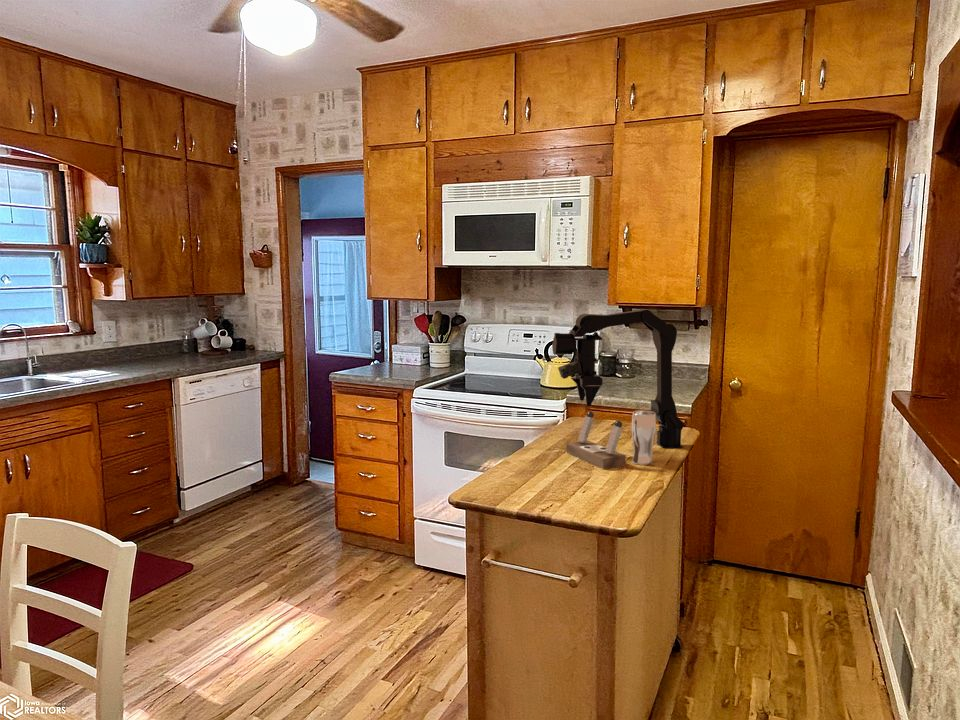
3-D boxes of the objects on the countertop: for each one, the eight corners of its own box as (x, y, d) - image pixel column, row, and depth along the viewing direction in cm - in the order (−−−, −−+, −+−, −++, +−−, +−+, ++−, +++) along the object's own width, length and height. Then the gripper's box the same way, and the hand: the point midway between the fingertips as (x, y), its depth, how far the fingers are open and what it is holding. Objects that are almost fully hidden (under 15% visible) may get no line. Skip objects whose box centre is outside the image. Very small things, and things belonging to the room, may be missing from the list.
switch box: (587, 449, 206) (587, 438, 206) (625, 465, 189) (625, 453, 189) (566, 452, 203) (566, 441, 202) (603, 469, 186) (603, 457, 185)
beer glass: (652, 459, 196) (654, 410, 194) (656, 466, 189) (658, 415, 187) (629, 458, 196) (630, 409, 194) (632, 465, 189) (633, 414, 187)
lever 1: (582, 441, 204) (591, 411, 204) (586, 443, 201) (596, 413, 201) (576, 439, 202) (586, 409, 203) (581, 441, 200) (591, 411, 200)
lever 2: (609, 452, 191) (619, 420, 191) (615, 454, 189) (625, 422, 189) (603, 451, 190) (613, 418, 190) (609, 453, 188) (619, 420, 188)
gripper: (554, 351, 213) (554, 398, 215) (566, 358, 194) (565, 410, 196) (588, 350, 213) (587, 397, 215) (603, 358, 195) (602, 409, 197)
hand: (585, 403), depth 206 cm, fingers open, 9 cm apart
